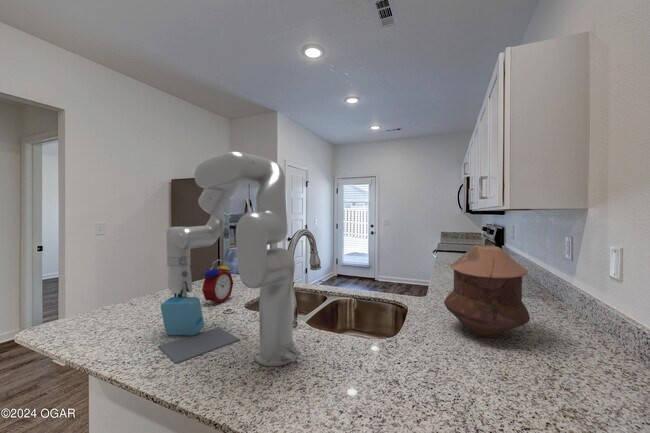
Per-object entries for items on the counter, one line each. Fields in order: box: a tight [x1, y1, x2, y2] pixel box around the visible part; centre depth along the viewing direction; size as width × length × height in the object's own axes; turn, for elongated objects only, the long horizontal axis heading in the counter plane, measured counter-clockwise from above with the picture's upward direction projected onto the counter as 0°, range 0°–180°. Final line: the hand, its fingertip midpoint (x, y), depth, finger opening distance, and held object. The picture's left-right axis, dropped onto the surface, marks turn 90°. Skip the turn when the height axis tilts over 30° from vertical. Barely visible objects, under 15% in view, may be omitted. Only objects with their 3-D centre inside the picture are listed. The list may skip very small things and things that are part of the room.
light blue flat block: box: [160, 296, 205, 336], centre depth 100 cm, size 12×4×12 cm, turn 81°
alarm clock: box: [201, 259, 234, 306], centre depth 137 cm, size 15×9×20 cm, turn 162°
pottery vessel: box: [443, 244, 531, 338], centre depth 101 cm, size 26×26×30 cm
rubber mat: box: [157, 326, 241, 365], centre depth 94 cm, size 15×20×1 cm
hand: (179, 311), depth 105 cm, fingers closed
